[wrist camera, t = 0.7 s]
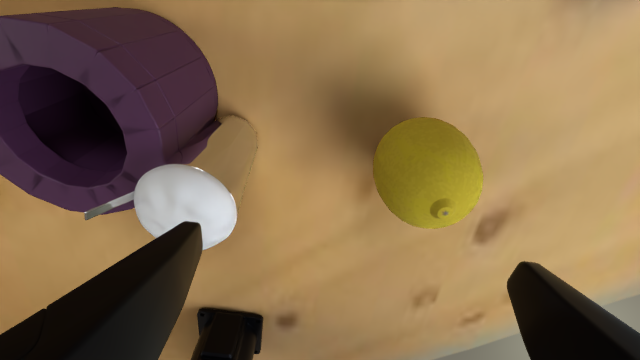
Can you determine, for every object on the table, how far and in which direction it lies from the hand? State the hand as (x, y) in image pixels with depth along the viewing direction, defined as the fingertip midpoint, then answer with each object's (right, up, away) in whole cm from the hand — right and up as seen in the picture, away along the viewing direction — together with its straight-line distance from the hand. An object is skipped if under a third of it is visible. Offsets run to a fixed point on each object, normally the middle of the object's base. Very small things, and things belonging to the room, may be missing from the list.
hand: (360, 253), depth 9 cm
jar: (-12, +8, +11) cm, 18 cm away
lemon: (+5, +5, +12) cm, 14 cm away
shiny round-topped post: (-7, +5, +12) cm, 15 cm away
